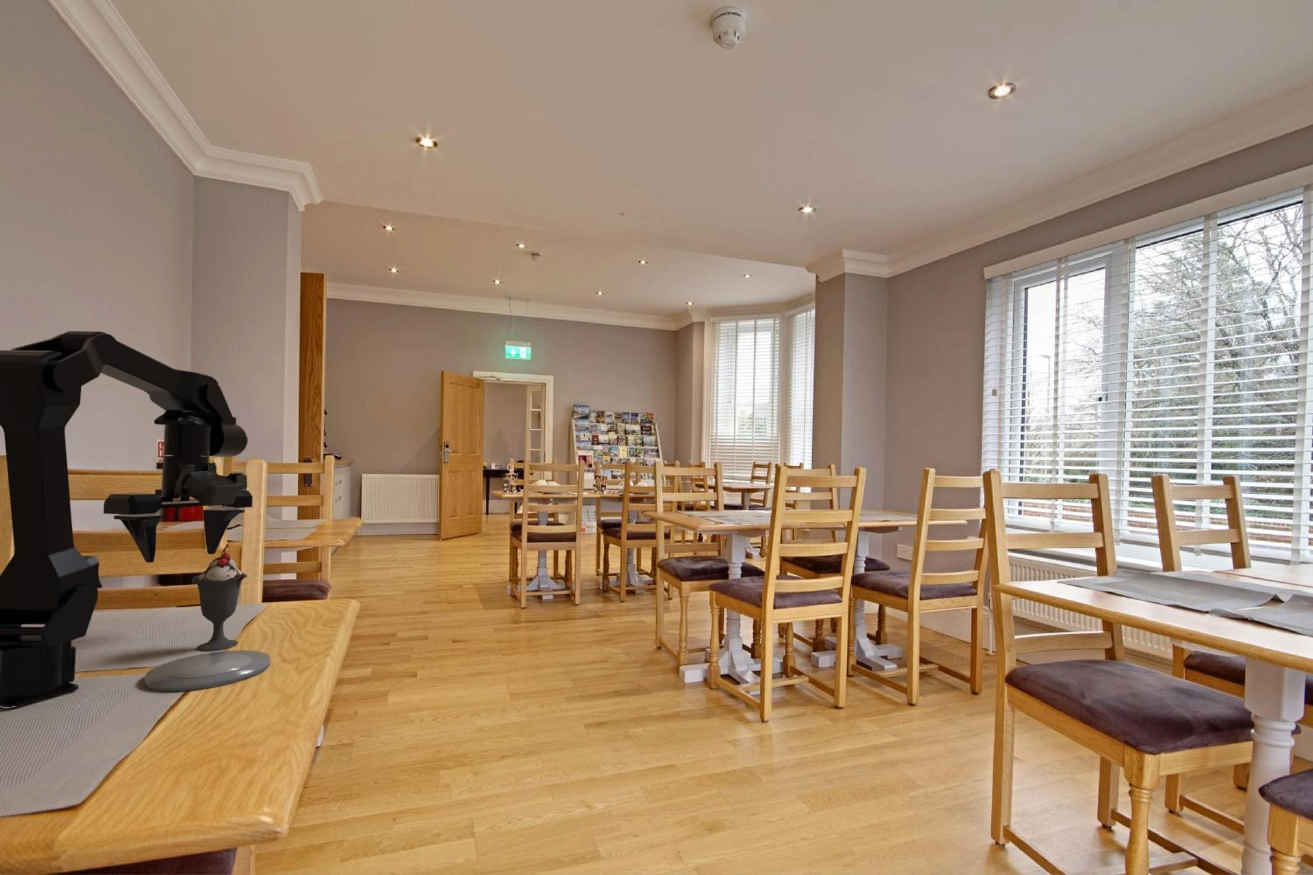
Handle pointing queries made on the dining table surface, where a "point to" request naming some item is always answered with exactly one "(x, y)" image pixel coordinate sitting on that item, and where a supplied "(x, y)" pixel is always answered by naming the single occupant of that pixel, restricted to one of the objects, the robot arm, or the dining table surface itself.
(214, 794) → the dining table surface
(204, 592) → the sundae
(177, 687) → the slate plate
